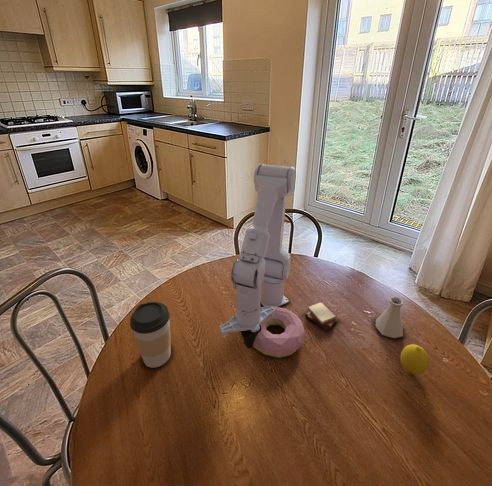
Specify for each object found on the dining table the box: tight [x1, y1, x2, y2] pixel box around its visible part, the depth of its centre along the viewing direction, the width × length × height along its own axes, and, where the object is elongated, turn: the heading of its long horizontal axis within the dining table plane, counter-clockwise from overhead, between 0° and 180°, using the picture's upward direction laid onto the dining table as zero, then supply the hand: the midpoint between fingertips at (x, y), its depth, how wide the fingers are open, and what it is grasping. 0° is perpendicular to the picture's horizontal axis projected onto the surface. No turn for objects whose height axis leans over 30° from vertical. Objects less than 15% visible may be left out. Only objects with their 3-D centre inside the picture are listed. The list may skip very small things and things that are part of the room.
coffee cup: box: [129, 301, 172, 369], centre depth 71 cm, size 9×9×15 cm
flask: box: [375, 296, 404, 339], centre depth 80 cm, size 7×7×10 cm
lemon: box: [400, 343, 429, 376], centre depth 68 cm, size 6×6×8 cm
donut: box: [252, 306, 306, 358], centre depth 78 cm, size 16×15×5 cm
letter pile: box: [305, 301, 338, 331], centre depth 84 cm, size 8×7×2 cm
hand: (248, 345), depth 75 cm, fingers closed
